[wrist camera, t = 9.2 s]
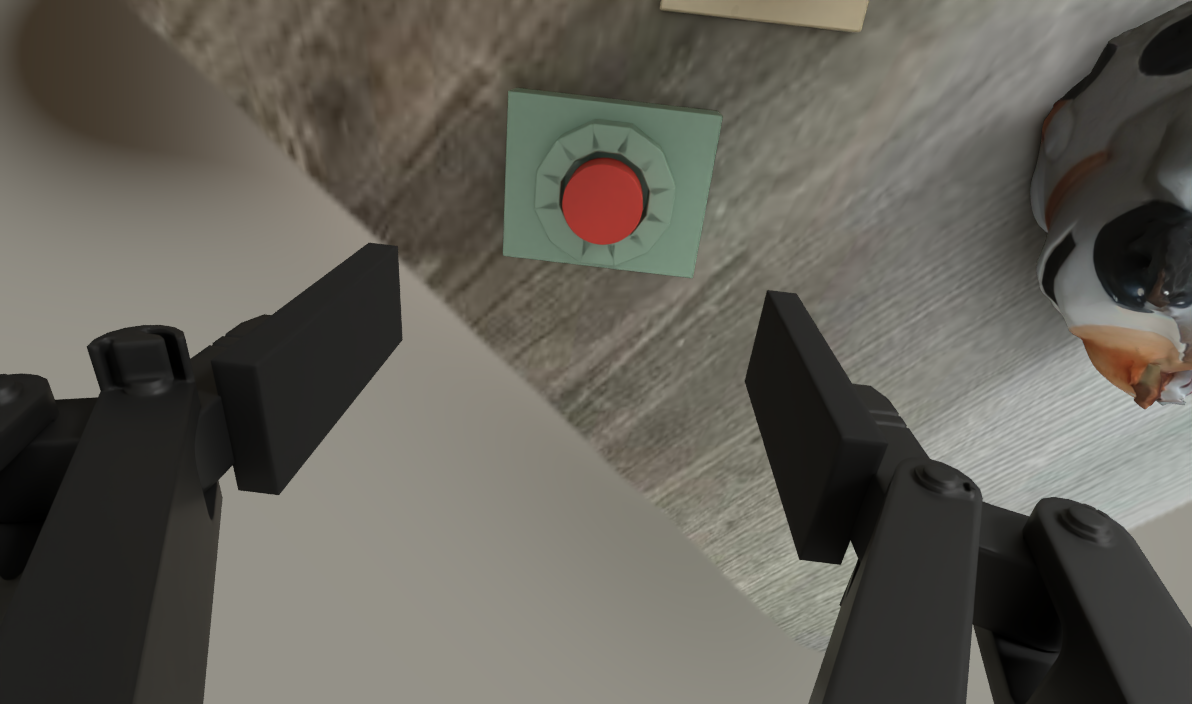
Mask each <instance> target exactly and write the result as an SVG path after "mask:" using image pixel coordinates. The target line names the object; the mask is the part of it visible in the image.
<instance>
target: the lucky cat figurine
mask: <svg viewBox="0 0 1192 704" xmlns="http://www.w3.org/2000/svg"><path fill="white" fill-rule="evenodd" d="M1030 197H1031V207H1032V212H1033V215H1034V217H1035V219H1036V221H1037V223H1038V225H1039V226H1040V227H1041V228H1042V229H1044V230H1045V231H1046V232H1047V233H1048V234H1047V238H1046V242H1045V244H1044V247H1043V249H1042V252H1041V254H1040V256H1039V258H1038V261H1037V267H1036V269H1037V276H1038V280H1039V286H1040V289H1041V291H1042V292H1043V293H1044V294H1045V295H1046V296H1047V297H1048V298H1049V299H1050V301H1051V303H1052V304H1053V306H1054V307H1055V308H1056V309H1057V310H1058V311H1059V312H1060V313H1061V314H1062V315H1063V317H1064V319H1065V321H1066V324H1067V326H1068V329H1069V331H1070V332H1072V334H1074V335H1075V336H1077V337H1079V338H1081V339H1082V341H1083V343H1084V346H1085V349H1086V351H1087V354H1088V356H1089V358H1090V360H1091V362H1092V364H1093V365H1094V367H1095V368H1096V369H1097V370H1098V371H1099V372H1100V373H1101V374H1102V375H1103V376H1104V377H1105V378H1106V379H1107V380H1109V381H1110V382H1111V383H1112V384H1113V385H1115V386H1116V387H1118V388H1119V389H1121V390H1123V391H1124V392H1126V393H1128V394H1129V395H1131V396H1132V397H1134V401H1135V402H1136V403H1137V404H1138V405H1139V406H1141V407H1142V408H1144V409H1147V407H1149V406H1151V405H1152V404H1153V403H1154V402H1155V401H1157V402H1158V403H1160V404H1161V405H1166V404H1169V403H1172V404H1179V405H1185V403H1186V402H1185V401H1183V400H1182V399H1184V398H1185V396H1187V395H1189V394H1191V393H1192V1H1191V2H1187V3H1185V4H1183V5H1181V6H1179V7H1177V8H1175V9H1173V10H1171V11H1168V12H1167V13H1165V14H1163V15H1161V16H1159V17H1157V18H1155V19H1153V20H1151V21H1149V22H1146V23H1144V24H1142V25H1140V26H1139V27H1137V28H1134V29H1131V30H1128V31H1126V32H1124V33H1122V34H1121V35H1119V36H1118V37H1115V38H1113V39H1111V40H1110V41H1109V42H1108V44H1107V45H1106V47H1105V48H1104V50H1103V52H1102V53H1101V55H1100V57H1099V59H1098V61H1097V62H1096V64H1095V66H1094V68H1093V69H1092V71H1091V73H1090V74H1089V75H1088V76H1087V77H1085V78H1084V79H1083V80H1082V81H1080V82H1079V83H1078V84H1077V85H1076V86H1074V87H1073V88H1072V89H1071V90H1070V91H1069V92H1068V93H1067V94H1066V95H1065V96H1064V97H1063V98H1061V99H1060V100H1058V101H1057V102H1056V103H1055V104H1054V106H1053V109H1052V110H1051V112H1050V113H1049V115H1048V116H1047V118H1046V119H1045V120H1044V124H1043V127H1042V137H1041V146H1040V150H1039V155H1038V160H1037V165H1036V169H1035V171H1034V174H1033V178H1032V182H1031V189H1030Z"/></svg>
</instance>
